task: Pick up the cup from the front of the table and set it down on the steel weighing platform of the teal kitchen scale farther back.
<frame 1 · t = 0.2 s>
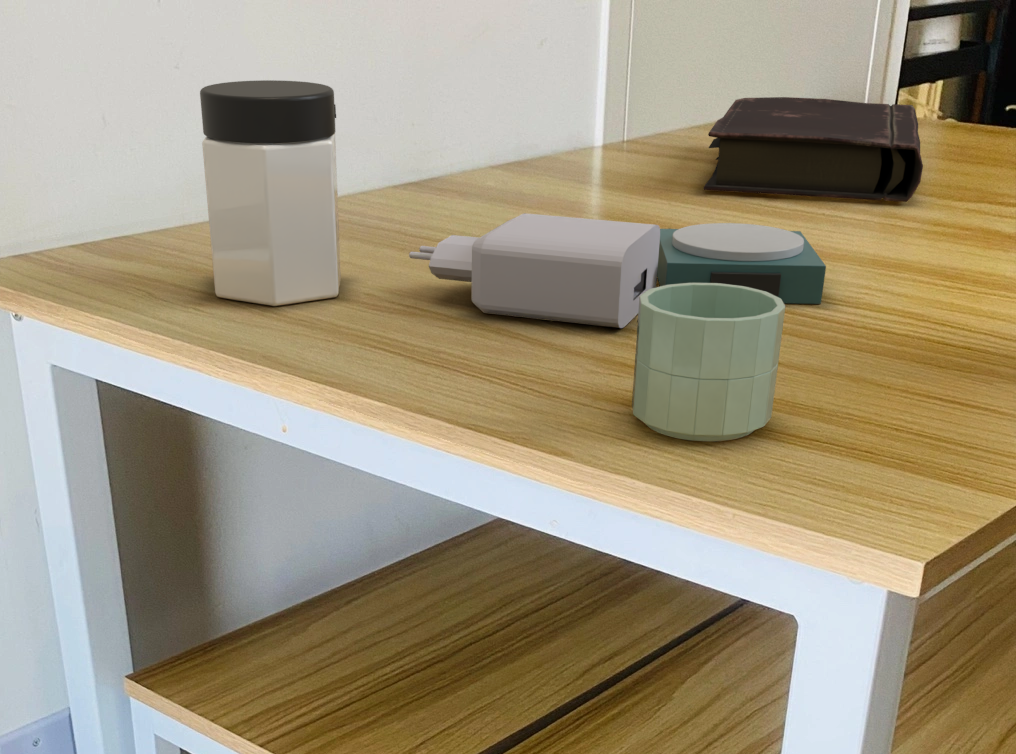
jar: (279, 292, 90), on the table
scale: (733, 283, 92), on the table
diary: (809, 176, 127), on the table
charger: (523, 305, 87), on the table
cup: (699, 422, 68), on the table
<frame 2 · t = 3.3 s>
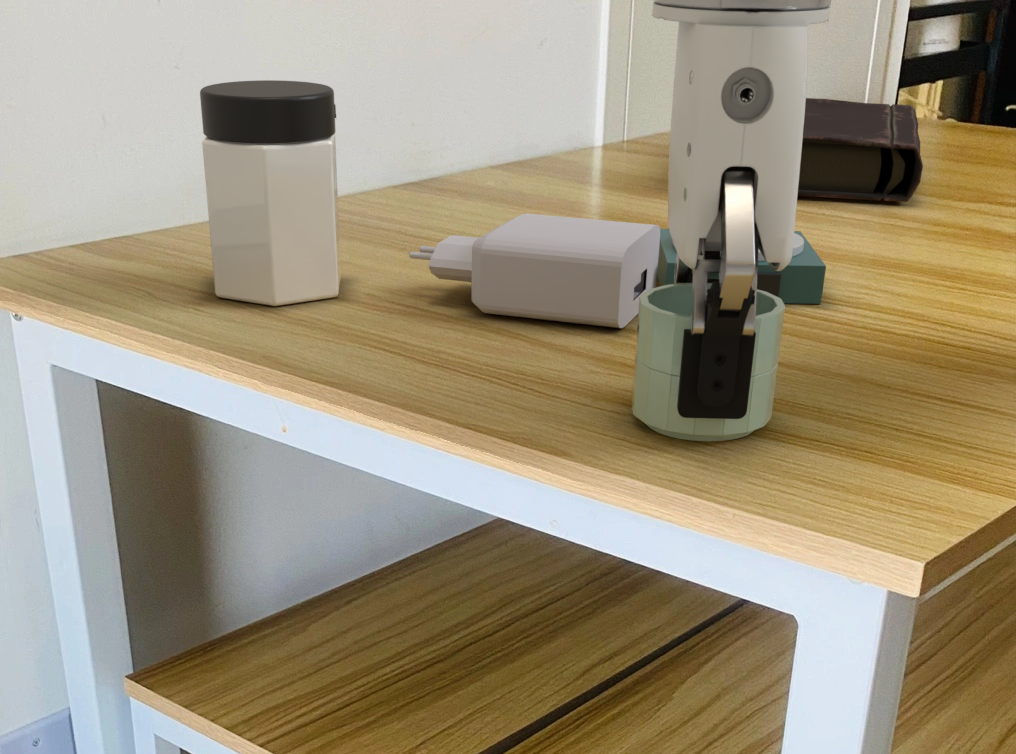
hand: (703, 387, 67), 2 cm above the table, tool pointing down, fingers closed on cup, 6 cm apart
cup: (699, 422, 68), on the table, touching gripper
everything else where it was.
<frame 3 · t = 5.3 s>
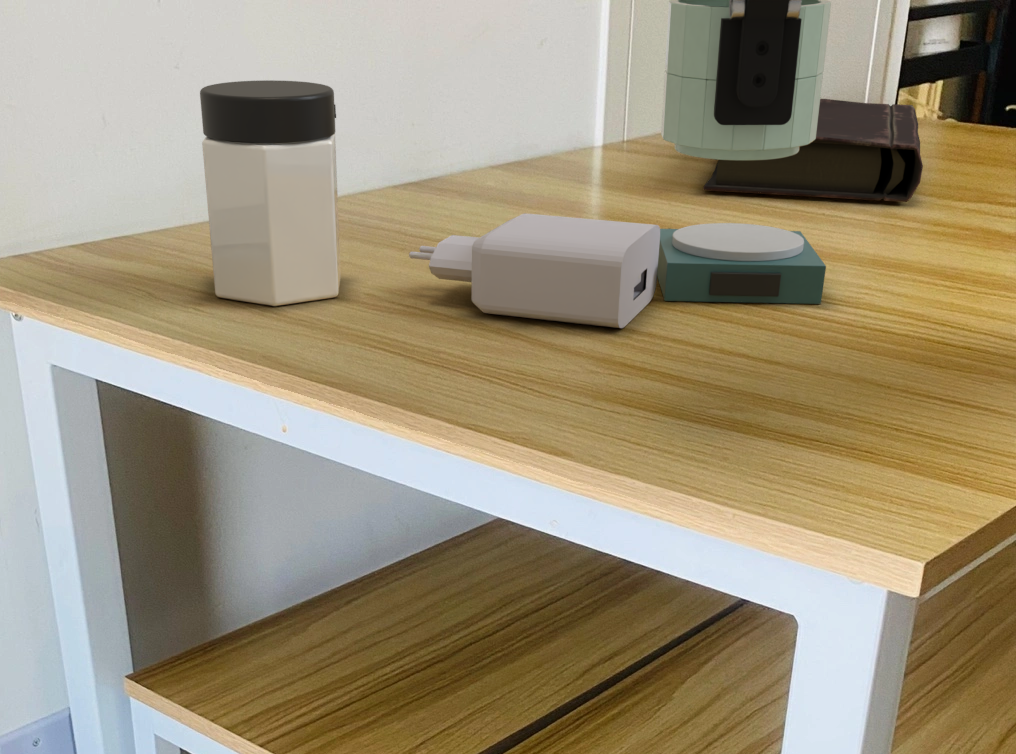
hand: (740, 106, 61), 14 cm above the table, tool pointing down, fingers closed on cup, 6 cm apart
cup: (736, 149, 62), point 13 cm above the table, touching gripper
everything else where it was.
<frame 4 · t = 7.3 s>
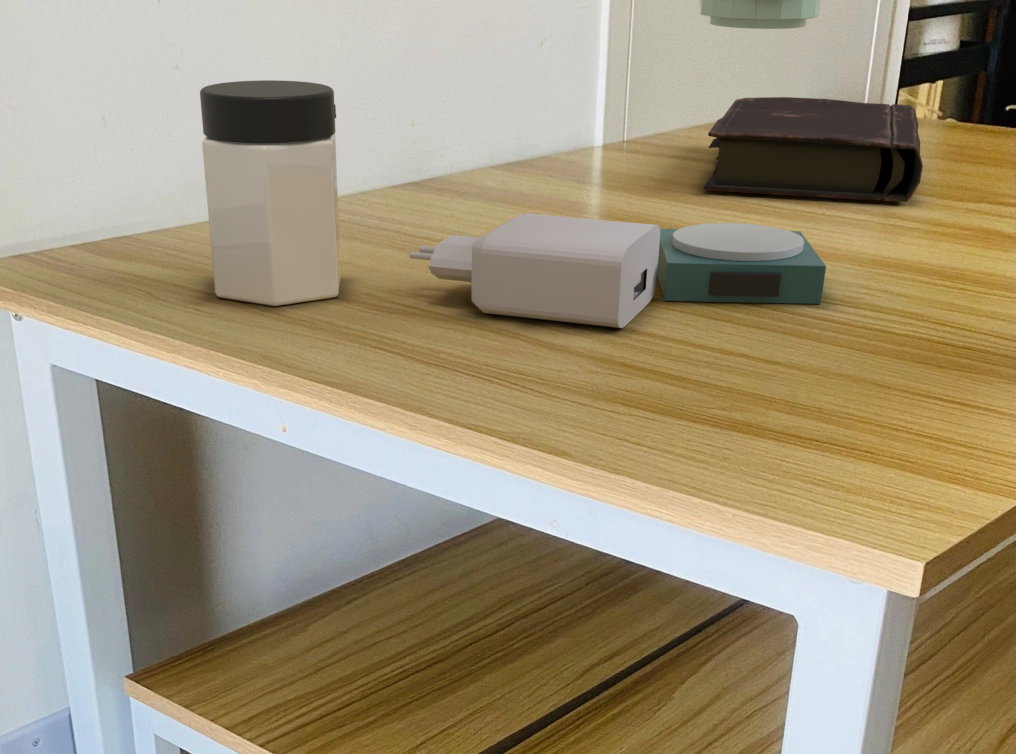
cup: (757, 24, 80), point 16 cm above the table, touching gripper
everything else where it was.
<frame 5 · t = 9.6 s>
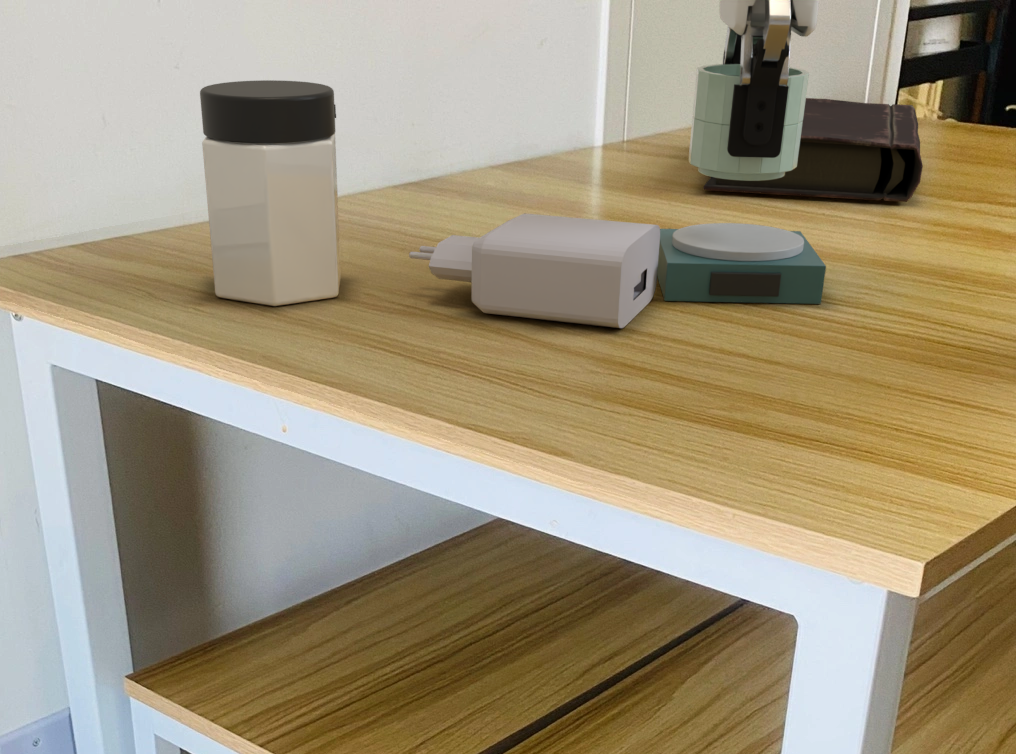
hand: (745, 143, 88), 9 cm above the table, tool pointing down, fingers closed on cup, 6 cm apart
cup: (741, 172, 88), point 7 cm above the table, touching gripper
everything else where it was.
when the fingers open (5 cm above the table, at t = 11.2 s): cup stays where it is, resting on scale.
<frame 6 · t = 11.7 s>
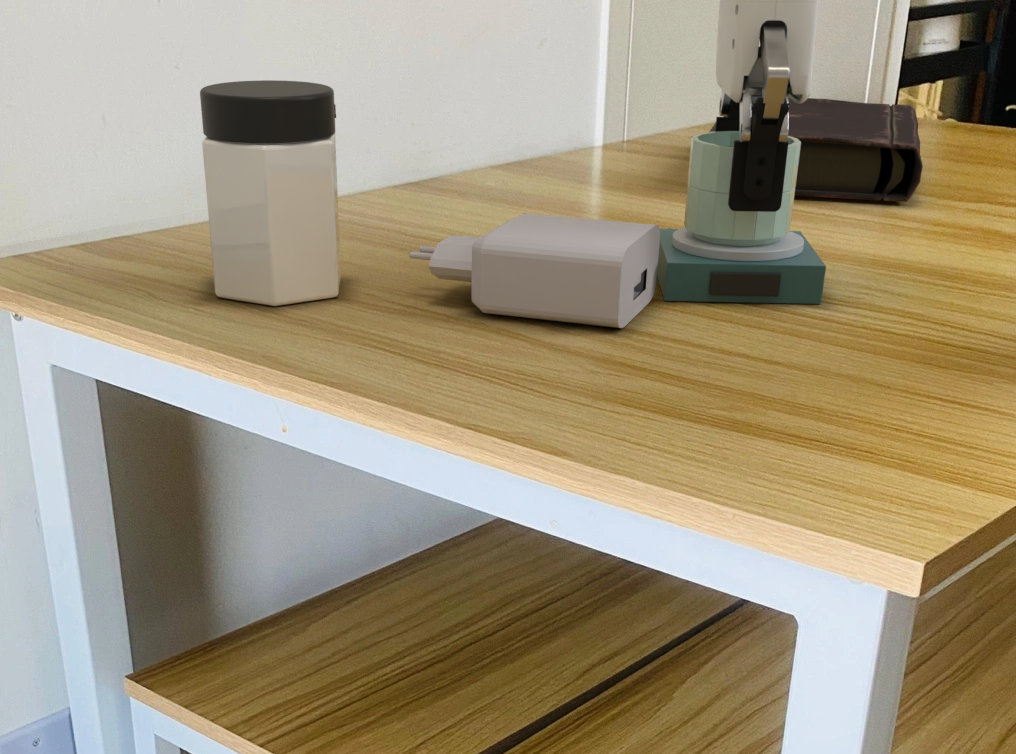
hand: (743, 195, 89), 6 cm above the table, tool pointing down, fingers open, 9 cm apart
cup: (735, 236, 90), point 3 cm above the table, touching scale
everything else where it was.
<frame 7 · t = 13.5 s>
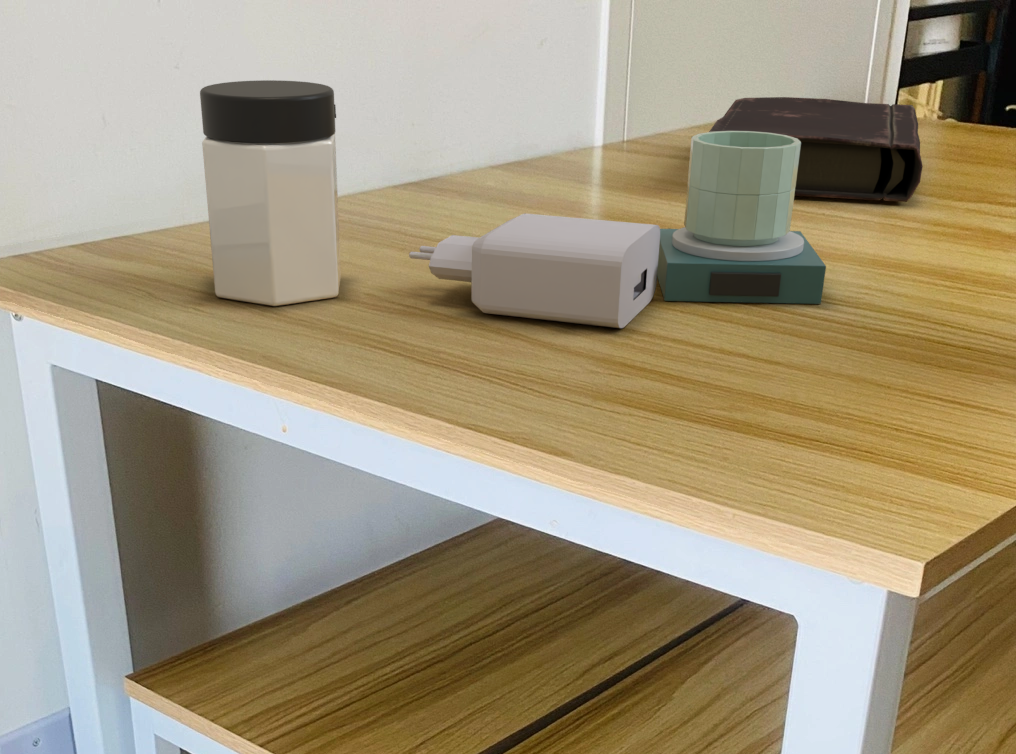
nothing on the table moved.
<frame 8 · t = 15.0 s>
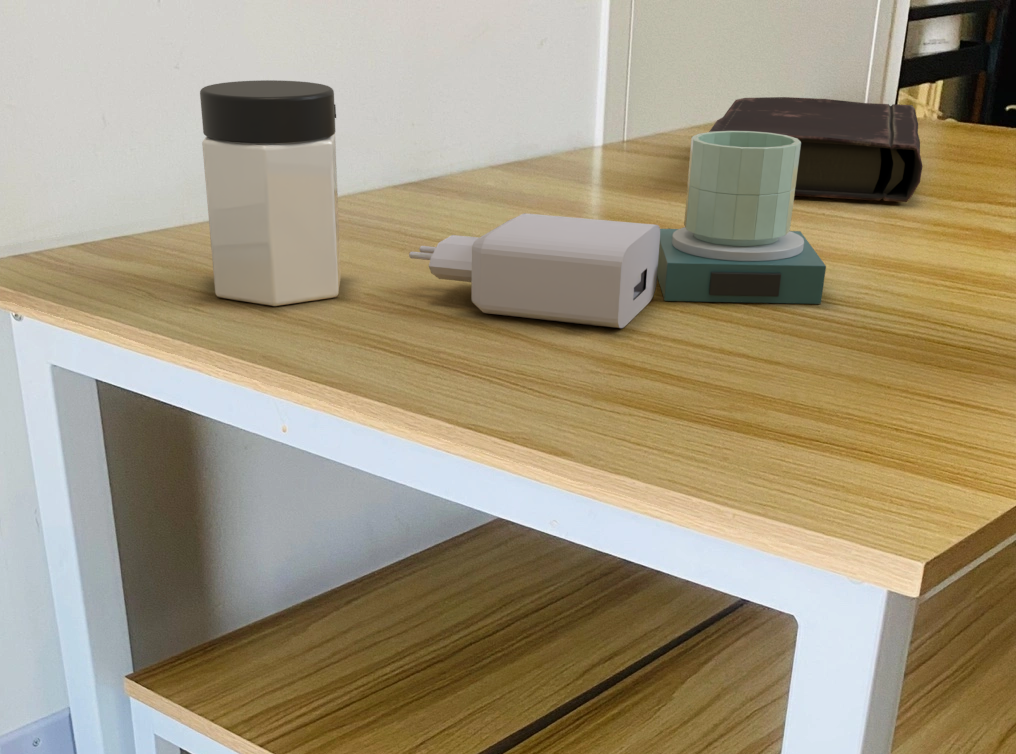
nothing on the table moved.
at the end: cup 0.1 cm off-centre on the scale, point 3.0 cm above the scale's base; cup tilted 0°; the gripper is holding nothing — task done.
